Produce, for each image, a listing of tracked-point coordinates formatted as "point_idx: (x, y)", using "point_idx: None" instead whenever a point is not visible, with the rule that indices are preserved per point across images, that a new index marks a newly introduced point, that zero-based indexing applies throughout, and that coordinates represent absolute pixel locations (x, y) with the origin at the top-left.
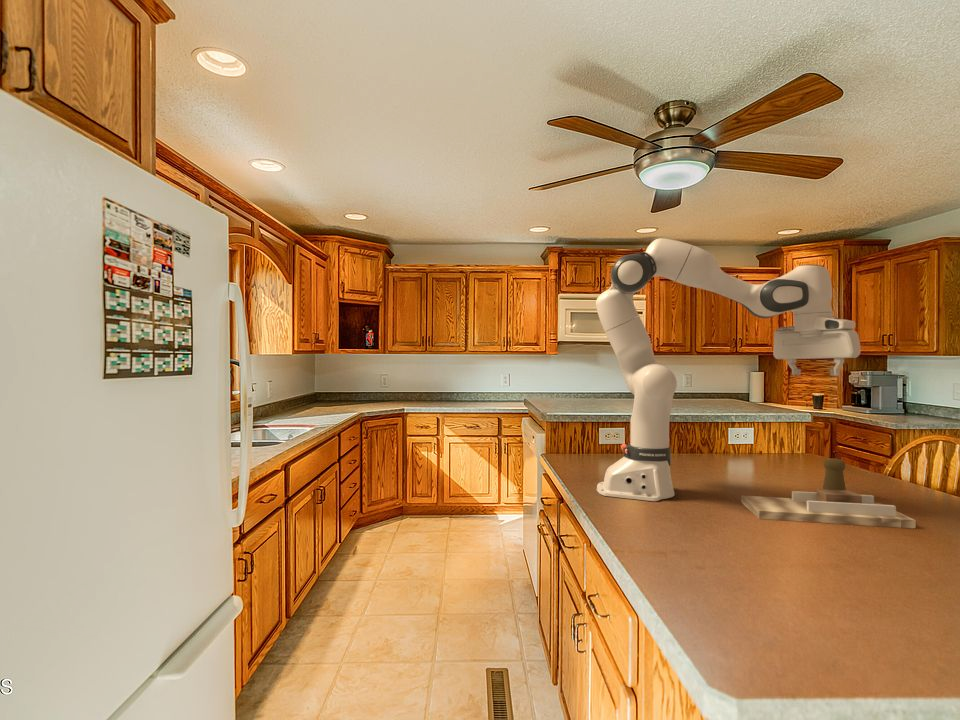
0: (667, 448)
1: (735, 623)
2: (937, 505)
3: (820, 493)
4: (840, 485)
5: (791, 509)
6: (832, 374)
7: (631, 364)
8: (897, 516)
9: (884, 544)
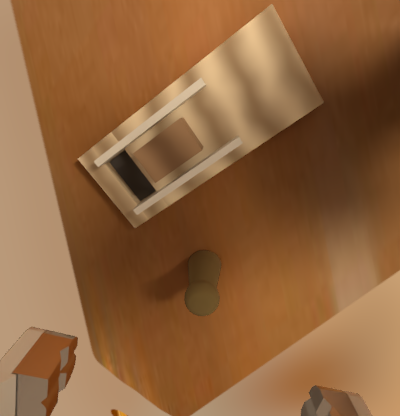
0: None
1: None
2: (95, 305)
3: (193, 136)
4: (192, 267)
5: (227, 69)
6: (55, 336)
7: None
8: None
9: (89, 25)
